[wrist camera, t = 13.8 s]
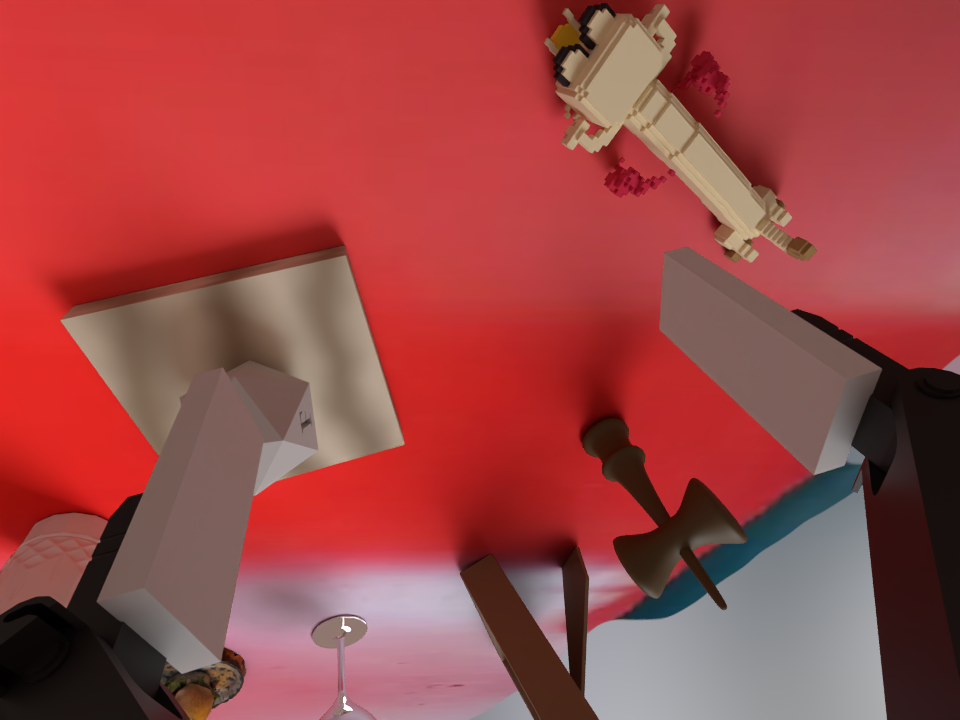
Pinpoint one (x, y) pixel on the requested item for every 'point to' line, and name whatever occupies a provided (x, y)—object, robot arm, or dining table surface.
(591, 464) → the dining table surface
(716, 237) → the cat figure
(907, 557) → the robot arm
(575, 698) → the photo frame
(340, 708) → the wineglass
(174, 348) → the birch board
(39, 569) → the white cup
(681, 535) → the kendama
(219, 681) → the burger
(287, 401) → the die
